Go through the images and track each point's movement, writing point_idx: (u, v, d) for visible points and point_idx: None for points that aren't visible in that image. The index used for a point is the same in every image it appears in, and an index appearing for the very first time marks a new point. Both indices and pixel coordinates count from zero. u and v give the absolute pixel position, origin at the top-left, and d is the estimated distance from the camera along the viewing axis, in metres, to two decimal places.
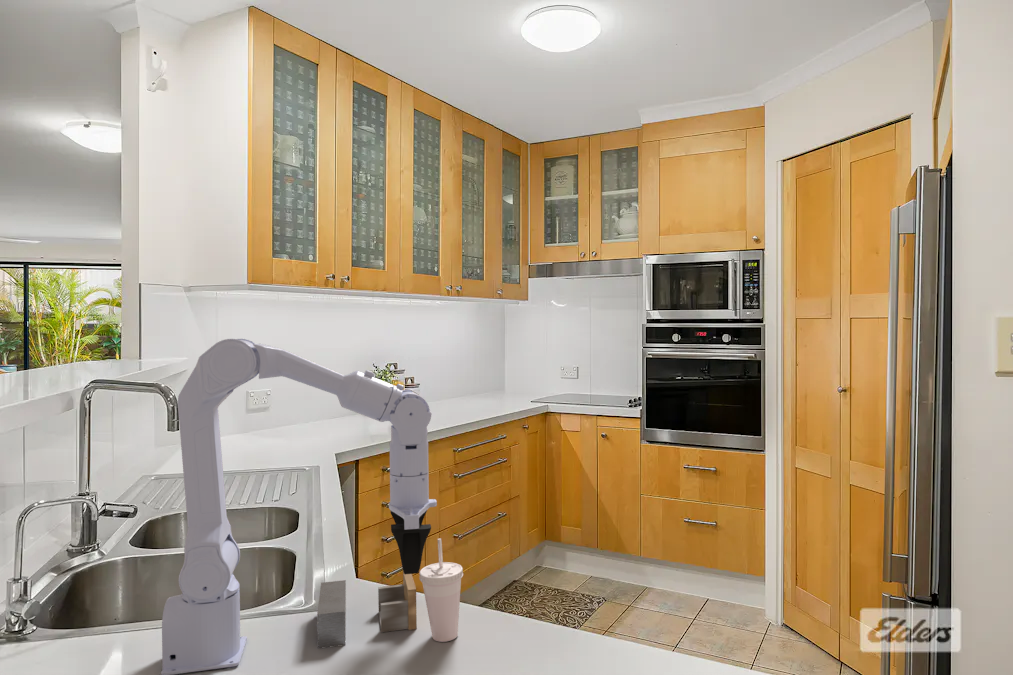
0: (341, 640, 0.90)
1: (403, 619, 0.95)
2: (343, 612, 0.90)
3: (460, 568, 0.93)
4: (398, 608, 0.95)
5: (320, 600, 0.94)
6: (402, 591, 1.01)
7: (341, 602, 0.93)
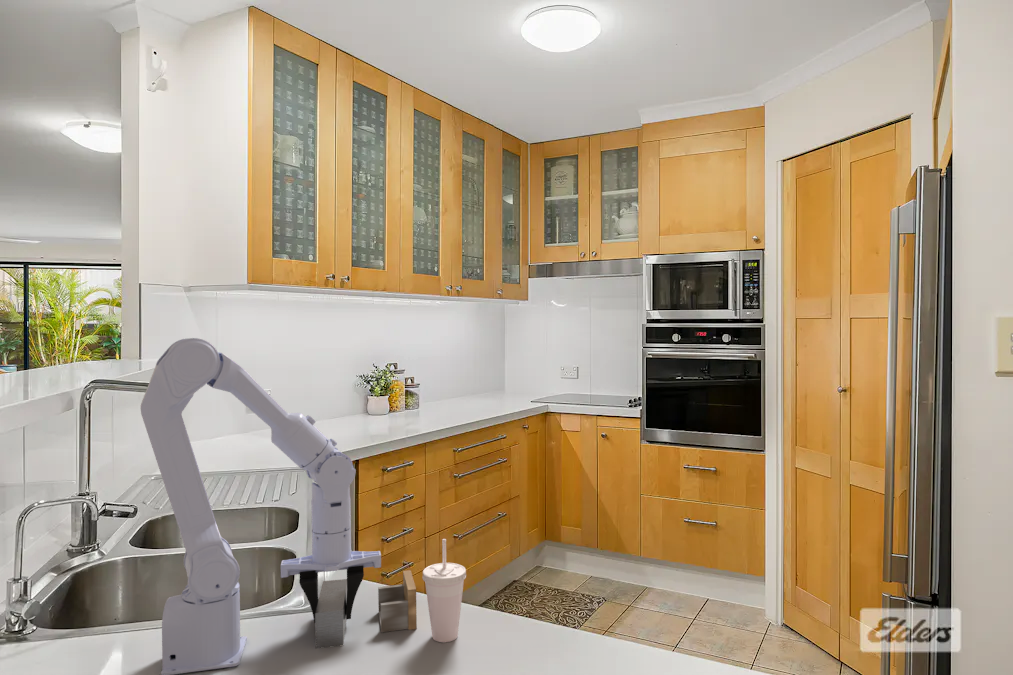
0: (339, 639, 0.90)
1: (403, 619, 0.95)
2: (341, 611, 0.90)
3: (463, 569, 0.93)
4: (398, 608, 0.95)
5: (320, 599, 0.94)
6: (402, 591, 1.01)
7: (340, 601, 0.93)
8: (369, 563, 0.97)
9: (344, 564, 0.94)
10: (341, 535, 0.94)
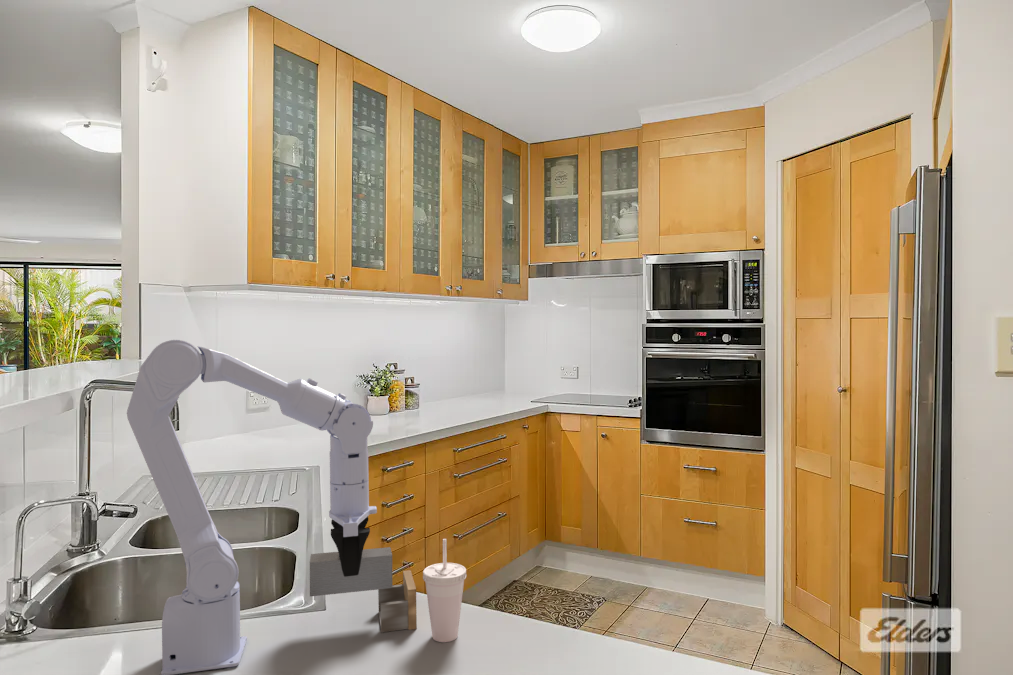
0: None
1: (403, 619, 0.95)
2: None
3: (464, 569, 0.93)
4: (398, 608, 0.95)
5: None
6: (402, 591, 1.01)
7: (368, 550, 0.98)
8: None
9: None
10: None
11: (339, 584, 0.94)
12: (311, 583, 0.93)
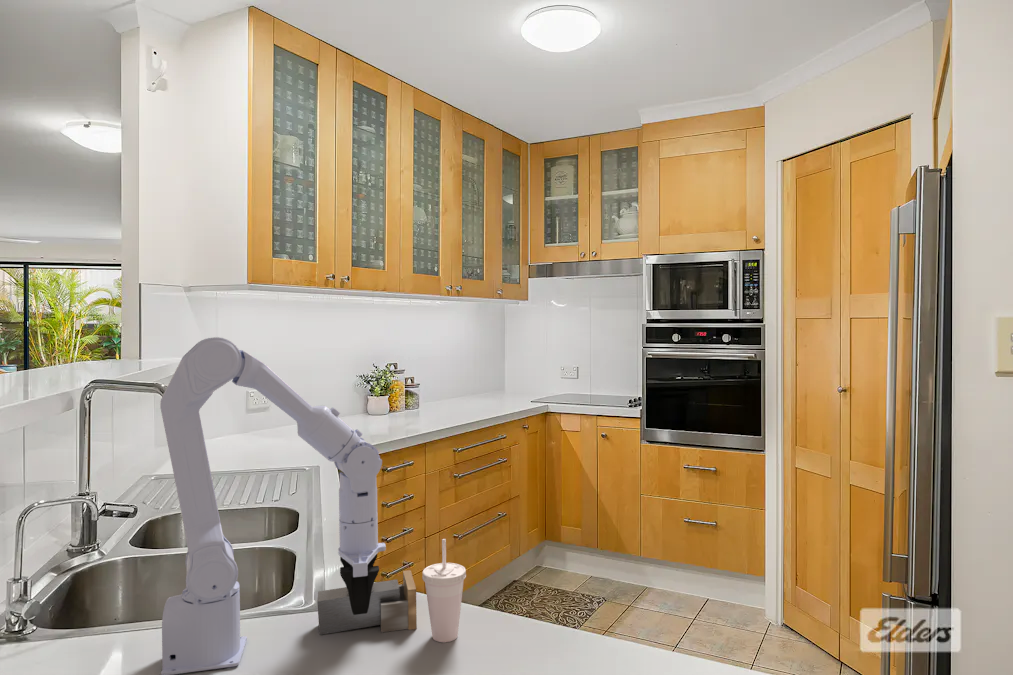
0: None
1: (403, 619, 0.95)
2: (397, 580, 1.00)
3: (463, 569, 0.93)
4: (398, 608, 0.95)
5: None
6: (402, 591, 1.01)
7: (375, 584, 0.99)
8: None
9: None
10: None
11: (348, 620, 0.94)
12: (320, 622, 0.93)
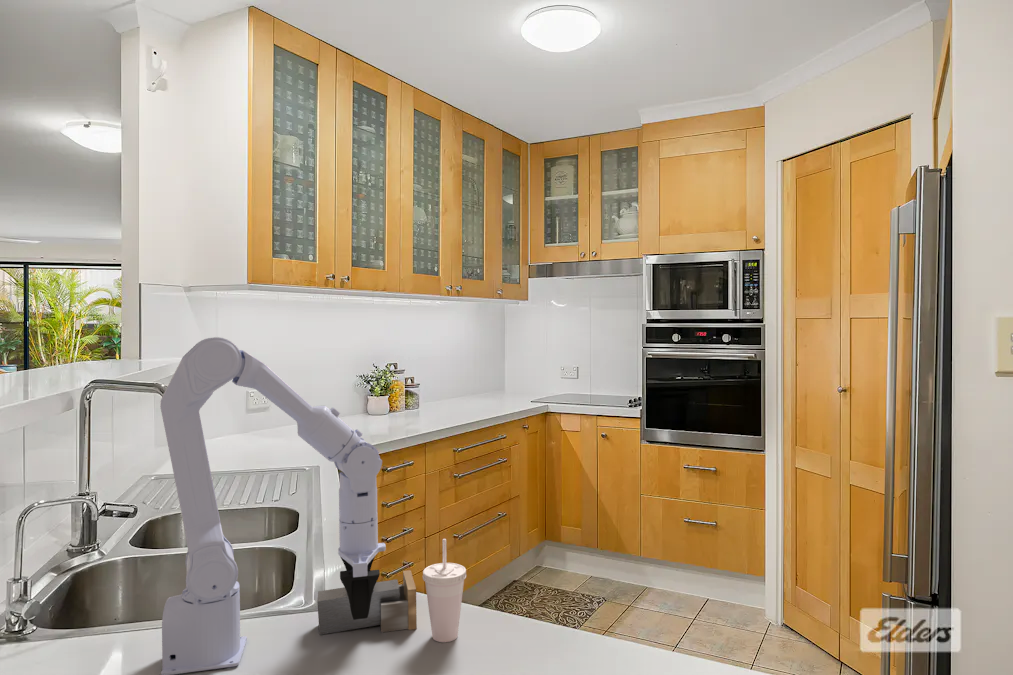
0: None
1: (403, 619, 0.95)
2: (397, 580, 1.00)
3: (463, 569, 0.93)
4: (398, 608, 0.95)
5: None
6: (402, 591, 1.01)
7: (375, 584, 0.99)
8: None
9: None
10: None
11: (348, 620, 0.94)
12: (320, 621, 0.93)
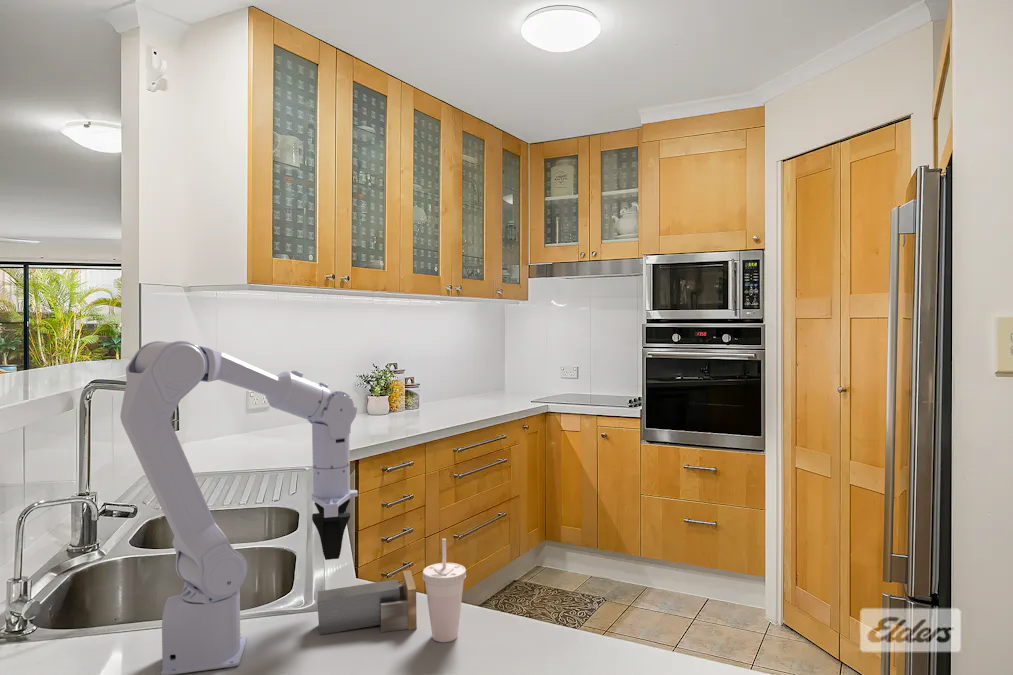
0: None
1: (403, 619, 0.95)
2: (397, 580, 1.00)
3: (463, 569, 0.93)
4: (398, 608, 0.95)
5: (366, 593, 0.95)
6: (402, 591, 1.01)
7: (375, 584, 0.99)
8: None
9: None
10: None
11: (348, 620, 0.94)
12: (320, 621, 0.93)
